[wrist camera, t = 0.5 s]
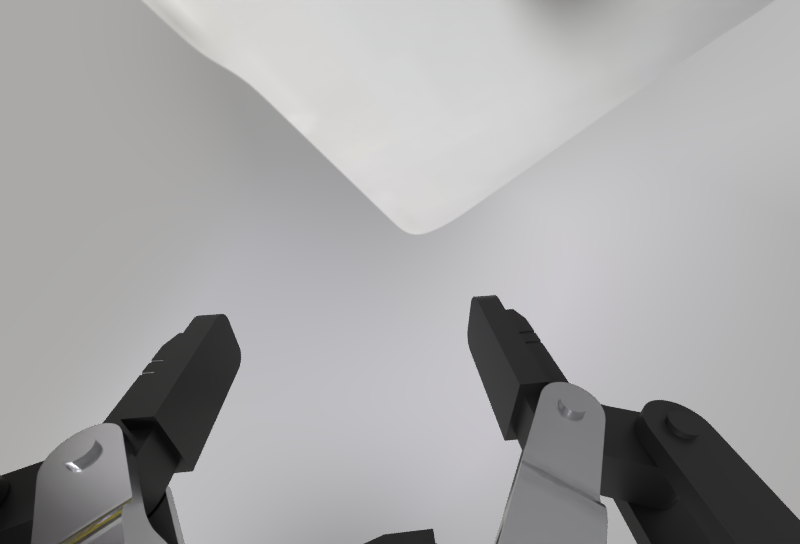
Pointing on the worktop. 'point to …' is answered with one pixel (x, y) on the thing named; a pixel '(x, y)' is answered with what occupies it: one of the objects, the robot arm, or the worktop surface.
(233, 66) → the worktop surface
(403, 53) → the worktop surface
